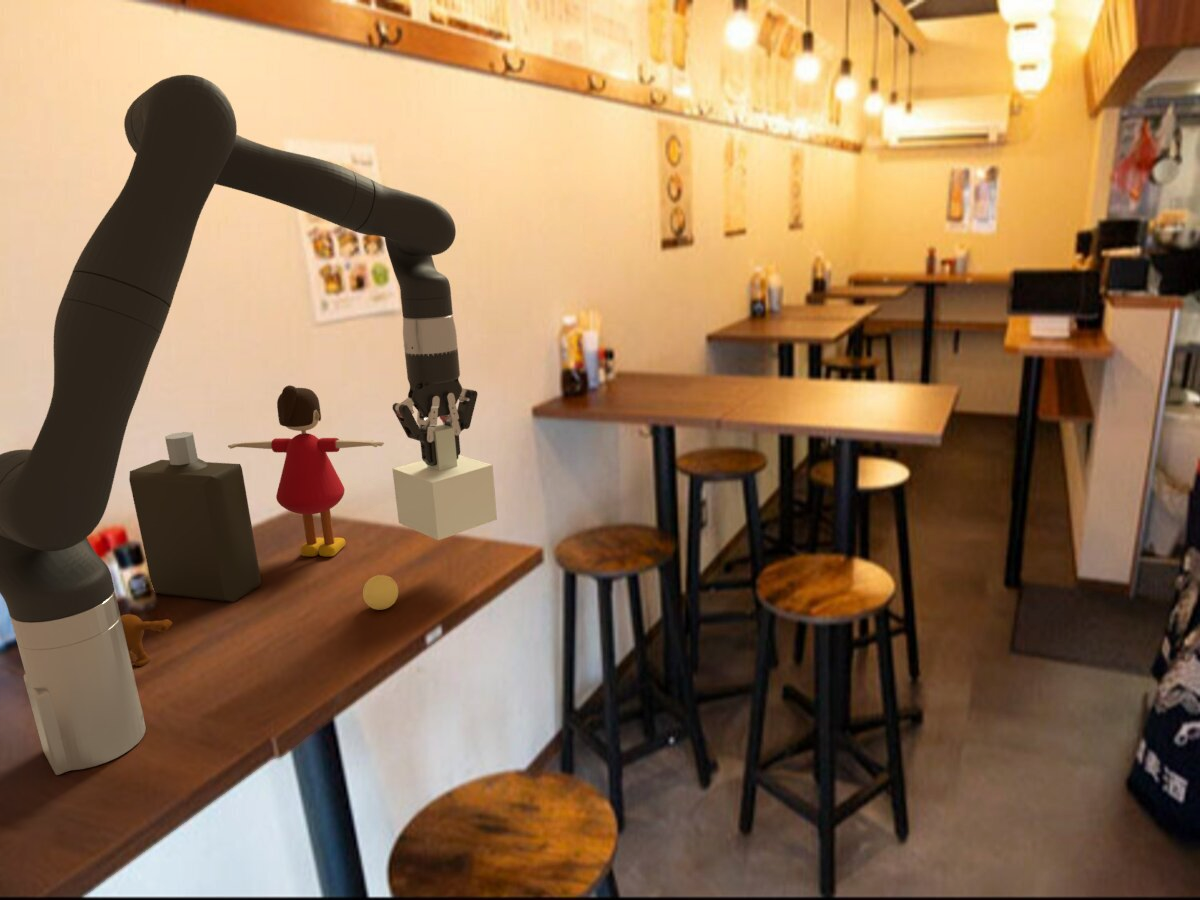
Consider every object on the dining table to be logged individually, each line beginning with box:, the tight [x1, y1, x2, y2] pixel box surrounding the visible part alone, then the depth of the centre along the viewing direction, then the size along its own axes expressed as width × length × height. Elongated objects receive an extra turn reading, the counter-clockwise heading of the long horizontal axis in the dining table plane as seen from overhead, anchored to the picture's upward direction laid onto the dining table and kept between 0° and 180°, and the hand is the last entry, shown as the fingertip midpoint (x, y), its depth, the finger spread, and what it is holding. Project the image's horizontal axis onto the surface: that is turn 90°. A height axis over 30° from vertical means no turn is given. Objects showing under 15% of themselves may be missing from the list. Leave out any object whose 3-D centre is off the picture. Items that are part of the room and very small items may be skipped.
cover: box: [392, 423, 498, 541], centre depth 121 cm, size 11×11×15 cm
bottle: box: [128, 431, 261, 603], centre depth 122 cm, size 8×16×25 cm, turn 74°
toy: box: [227, 384, 385, 558], centre depth 133 cm, size 27×11×30 cm, turn 84°
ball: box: [362, 574, 399, 611], centre depth 116 cm, size 5×5×5 cm
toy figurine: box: [120, 613, 173, 667], centre depth 103 cm, size 12×4×7 cm, turn 85°
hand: (442, 461), depth 120 cm, fingers closed on cover, 3 cm apart
